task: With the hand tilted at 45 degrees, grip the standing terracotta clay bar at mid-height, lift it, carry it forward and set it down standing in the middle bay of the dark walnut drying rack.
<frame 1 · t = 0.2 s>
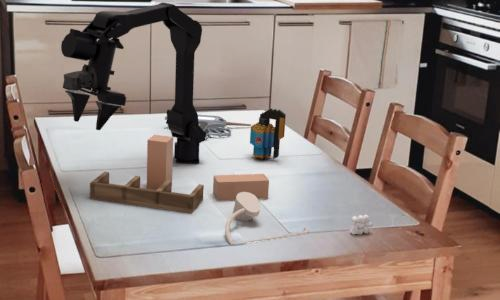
hand: (86, 125, 202), 16 cm above the table, tool pointing down, fingers open, 9 cm apart
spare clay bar: (240, 196, 206), on the table
toilet paper hanger: (254, 228, 189), on the table
clay bar: (159, 187, 209), on the table
toy: (267, 158, 237), on the table
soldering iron: (212, 135, 257), on the table
rack: (146, 199, 200), on the table
white beaded block: (360, 233, 188), on the table
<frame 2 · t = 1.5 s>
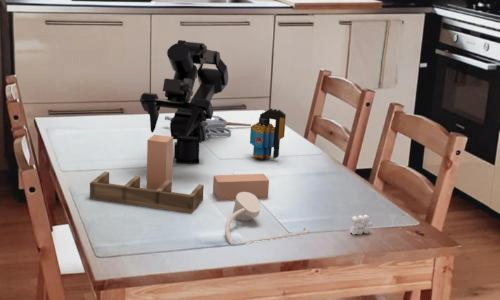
hand: (168, 133, 211), 12 cm above the table, tool tilted 45°, fingers open, 9 cm apart
nothing on the table moved.
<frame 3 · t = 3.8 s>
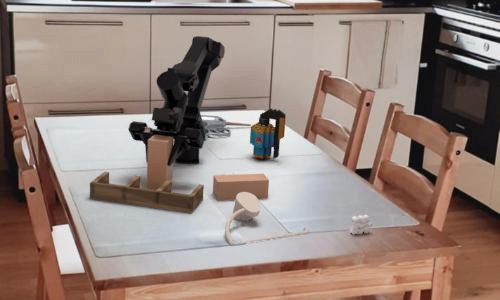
hand: (157, 164, 205), 7 cm above the table, tool tilted 45°, fingers closed on clay bar, 5 cm apart
clay bar: (159, 187, 209), on the table, touching gripper
everything else where it was.
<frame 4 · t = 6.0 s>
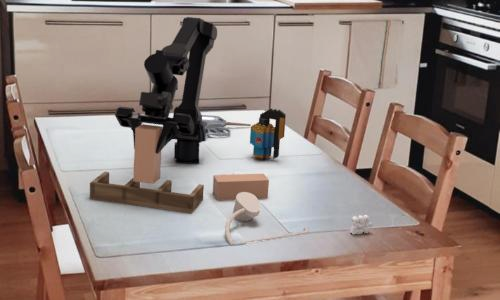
hand: (146, 151, 195), 13 cm above the table, tool tilted 45°, fingers closed on clay bar, 5 cm apart
clay bar: (146, 180, 198), point 5 cm above the table, touching gripper
everything else where it was.
when the fingers open (9 cm above the table, at t = 7.1 s): clay bar stays where it is, resting on rack.
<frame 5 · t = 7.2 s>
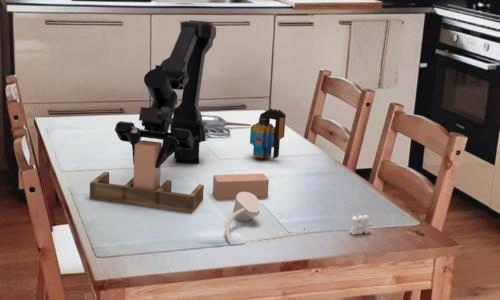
hand: (145, 166, 196), 9 cm above the table, tool tilted 45°, fingers open, 5 cm apart
clay bar: (146, 195, 199), point 1 cm above the table, touching rack
everything else where it was.
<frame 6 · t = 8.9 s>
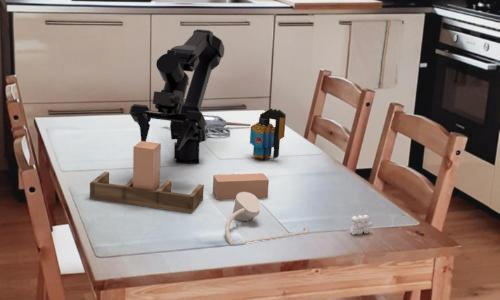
hand: (160, 147, 205), 11 cm above the table, tool tilted 40°, fingers open, 9 cm apart
nothing on the table moved.
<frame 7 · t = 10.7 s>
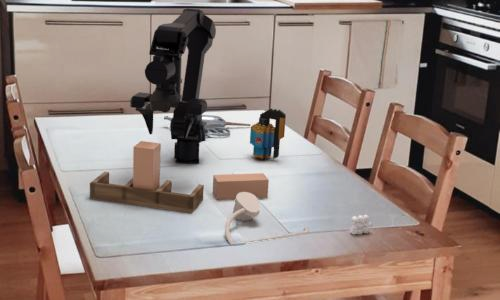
hand: (167, 136, 210), 12 cm above the table, tool pointing down, fingers open, 9 cm apart
nothing on the table moved.
at the end: clay bar 0.5 cm off-centre on the rack, point 1.0 cm above the rack's base; clay bar tilted 0°; the gripper is holding nothing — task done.
